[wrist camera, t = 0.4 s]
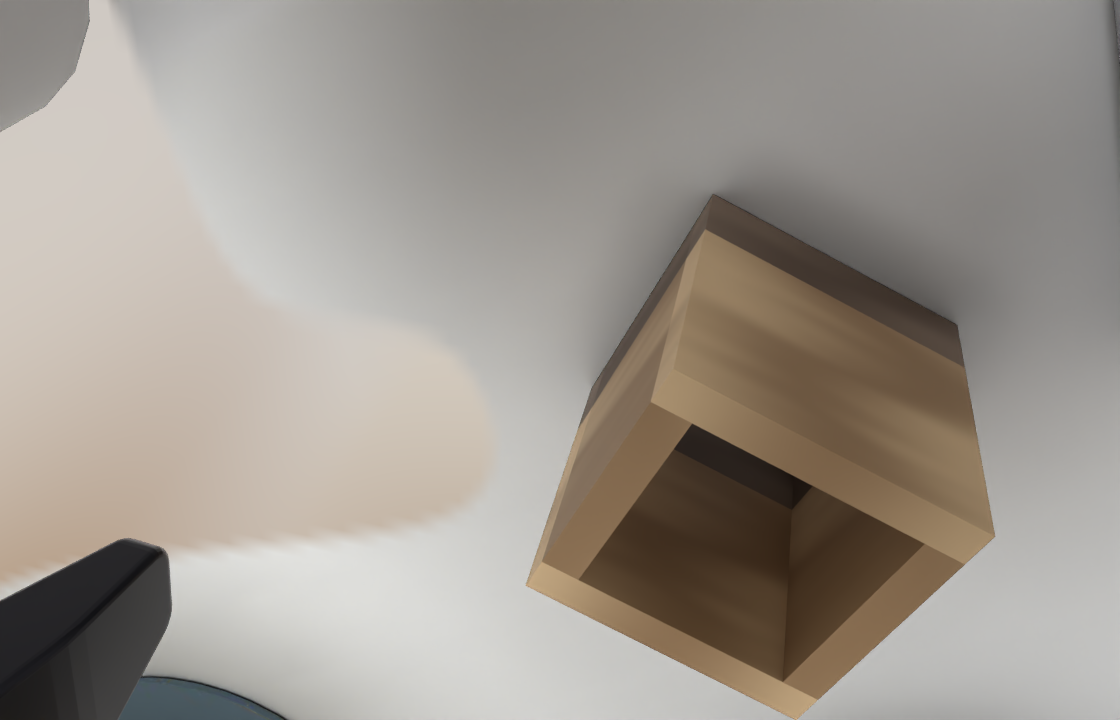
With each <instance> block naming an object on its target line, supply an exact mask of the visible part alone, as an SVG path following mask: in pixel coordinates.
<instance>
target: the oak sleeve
mask: <svg viewBox="0 0 1120 720" xmlns="http://www.w3.org/2000/svg"><path fill="white" fill-rule="evenodd" d="M994 537H995V533H994V528H993V522H992V516H991V511H990V505H989V500H988V494H987V489H986V483H985V478H984V472H983V466H982V461H981V455H980V450H979V444H978V439H977V433H976V427H975V422H974V416H973V411H972V405H971V400H970V394H969V388H968V383H967V377H966V372H965V366H964V361H963V355H962V349H961V344H960V338H959V333H958V327H957V325H956V324H954V323H952V322H950V321H949V320H947V319H945V318H943V317H941V316H939V315H937V314H936V313H934V312H932V311H930V310H928V309H926V308H924V307H923V306H921V305H919V304H917V303H915V302H913V301H911V300H909V299H908V298H906V297H904V296H902V295H900V294H898V293H896V292H895V291H893V290H891V289H889V288H887V287H885V286H883V285H882V284H880V283H878V282H876V281H874V280H872V279H870V278H869V277H867V276H865V275H863V274H861V273H859V272H857V271H855V270H854V269H852V268H850V267H848V266H846V265H844V264H842V263H841V262H839V261H837V260H835V259H833V258H831V257H829V256H828V255H826V254H824V253H822V252H820V251H818V250H816V249H814V248H813V247H811V246H809V245H807V244H805V243H803V242H801V241H800V240H798V239H796V238H794V237H792V236H790V235H788V234H787V233H785V232H783V231H781V230H779V229H777V228H775V227H774V226H772V225H770V224H768V223H766V222H764V221H762V220H760V219H759V218H757V217H755V216H753V215H751V214H749V213H747V212H746V211H744V210H742V209H740V208H738V207H736V206H734V205H733V204H731V203H729V202H727V201H725V200H723V199H721V198H720V197H718V196H716V195H714V194H713V195H712V197H711V199H710V200H709V202H708V203H707V205H706V207H705V208H704V210H703V211H702V213H701V215H700V216H699V218H698V219H697V221H696V223H695V224H694V226H693V227H692V229H691V231H690V232H689V234H688V235H687V237H686V239H685V240H684V242H683V243H682V245H681V247H680V248H679V250H678V251H677V253H676V255H675V256H674V258H673V259H672V261H671V263H670V264H669V266H668V267H667V269H666V271H665V272H664V274H663V275H662V277H661V279H660V280H659V282H658V283H657V285H656V287H655V288H654V290H653V291H652V293H651V295H650V296H649V298H648V299H647V301H646V303H645V304H644V306H643V307H642V309H641V311H640V312H639V314H638V315H637V317H636V318H635V320H634V322H633V323H632V325H631V326H630V328H629V330H628V331H627V333H626V334H625V336H624V338H623V339H622V341H621V342H620V344H619V346H618V347H617V349H616V350H615V352H614V354H613V355H612V357H611V358H610V360H609V362H608V363H607V365H606V366H605V368H604V370H603V371H602V373H601V374H600V376H599V378H598V379H597V381H596V382H595V384H594V386H593V387H592V389H591V392H590V395H589V398H588V401H587V404H586V407H585V410H584V413H583V416H582V419H581V422H580V425H579V428H578V430H577V433H576V436H575V439H574V442H573V445H572V448H571V451H570V454H569V457H568V460H567V463H566V466H565V469H564V472H563V475H562V478H561V481H560V484H559V487H558V490H557V493H556V496H555V499H554V502H553V505H552V508H551V511H550V514H549V517H548V520H547V523H546V526H545V529H544V532H543V535H542V538H541V541H540V544H539V547H538V550H537V553H536V556H535V559H534V562H533V565H532V568H531V571H530V574H529V577H528V580H527V583H526V586H528V587H530V588H532V589H534V590H536V591H538V592H540V593H542V594H544V595H546V596H548V597H550V598H552V599H554V600H556V601H558V602H560V603H562V604H564V605H566V606H568V607H570V608H572V609H574V610H576V611H578V612H580V613H582V614H584V615H586V616H588V617H590V618H592V619H594V620H596V621H598V622H600V623H602V624H604V625H606V626H608V627H610V628H612V629H614V630H616V631H618V632H620V633H622V634H624V635H626V636H628V637H630V638H632V639H634V640H636V641H638V642H640V643H642V644H644V645H646V646H648V647H650V648H652V649H654V650H656V651H658V652H660V653H662V654H664V655H666V656H668V657H670V658H672V659H674V660H676V661H678V662H680V663H682V664H684V665H686V666H688V667H690V668H692V669H694V670H696V671H698V672H700V673H702V674H704V675H706V676H708V677H710V678H712V679H714V680H716V681H718V682H720V683H722V684H724V685H726V686H728V687H730V688H732V689H734V690H736V691H739V692H741V693H743V694H745V695H747V696H749V697H751V698H753V699H755V700H757V701H759V702H761V703H763V704H765V705H767V706H769V707H771V708H773V709H775V710H777V711H779V712H781V713H783V714H785V715H787V716H789V717H791V718H793V719H795V720H797V719H798V718H799V717H800V716H801V715H802V714H803V713H804V712H805V711H806V710H808V709H809V708H810V707H811V706H812V705H813V704H814V703H815V702H816V701H817V700H818V699H819V698H821V697H822V696H823V695H824V694H825V693H826V692H827V691H828V690H829V689H830V688H831V687H832V686H834V685H835V684H836V683H837V682H838V681H839V680H840V679H841V678H842V677H843V676H844V675H845V674H847V673H848V672H849V671H850V670H851V669H852V668H853V667H854V666H855V665H856V664H857V663H859V662H860V661H861V660H862V659H863V658H864V657H865V656H866V655H867V654H868V653H869V652H870V651H872V650H873V649H874V648H875V647H876V646H877V645H878V644H879V643H880V642H881V641H882V640H883V639H885V638H886V637H887V636H888V635H889V634H890V633H891V632H892V631H893V630H894V629H895V628H896V627H898V626H899V625H900V624H901V623H902V622H903V621H904V620H905V619H906V618H907V617H908V616H909V615H911V614H912V613H913V612H914V611H915V610H916V609H917V608H918V607H919V606H920V605H921V604H922V603H924V602H925V601H926V600H927V599H928V598H929V597H930V596H931V595H932V594H933V593H934V592H936V591H937V590H938V589H939V588H940V587H941V586H942V585H943V584H944V583H945V582H946V581H947V580H949V579H950V578H951V577H952V576H953V575H954V574H955V573H956V572H957V571H958V570H959V569H960V568H962V567H963V566H964V565H965V564H966V563H967V562H968V561H969V560H970V559H971V558H972V557H973V556H975V555H976V554H977V553H978V552H979V551H980V550H981V549H982V548H983V547H984V546H985V545H986V544H988V543H989V542H990V541H991V540H992V539H993V538H994Z"/></svg>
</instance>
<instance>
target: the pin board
mask: <svg viewBox="0 0 1120 720" xmlns="http://www.w3.org/2000/svg"><path fill="white" fill-rule="evenodd" d="M1114 7H1115V18H1116V29H1117V40H1118V51H1119V62H1120V0H1114Z"/></svg>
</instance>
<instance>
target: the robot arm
mask: <svg viewBox="0 0 1120 720" xmlns="http://www.w3.org/2000/svg"><path fill="white" fill-rule="evenodd" d="M171 611H172V598H171V583H170V568H169V558H168V554H167V553H166V551H165V550H164V549H163V548H161V547H159V546H155V545H152V544H149V543H146V542H142V541H139V540H136V539H131V538H125V539H121V540H117V541H115V542H113V543H111V544H109V545H107V546H105V547H103V548H101V549H100V550H98V551H96V552H94V553H92V554H90V555H88V556H86V557H84V558H82V559H80V560H78V561H76V562H74V563H72V564H70V565H68V566H67V567H65V568H63V569H61V570H59V571H57V572H55V573H53V574H51V575H49V576H47V577H45V578H43V579H41V580H39V581H37V582H35V583H34V584H32V585H30V586H28V587H26V588H24V589H22V590H20V591H18V592H16V593H14V594H12V595H10V596H8V597H6V598H4V599H2V600H1V601H0V720H118V719H119V717H120V715H121V713H122V711H123V709H124V708H125V706H126V704H127V702H128V700H129V698H130V696H131V695H132V693H133V691H134V689H135V687H136V685H137V683H138V681H139V680H140V678H141V676H142V674H143V672H144V670H145V668H146V667H147V665H148V663H149V661H150V659H151V657H152V655H153V653H154V652H155V650H156V648H157V646H158V644H159V642H160V640H161V639H162V637H163V635H164V633H165V631H166V629H167V626H168V623H169V620H170V617H171Z"/></svg>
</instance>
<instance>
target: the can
mask: <svg viewBox="0 0 1120 720" xmlns="http://www.w3.org/2000/svg"><path fill="white" fill-rule="evenodd" d="M89 21H90V20H89V0H0V132H1V131H3V130H5V129H6V128H8V127H10V126H11V125H13V124H15V123H17V122H18V121H20V120H22V119H24V118H25V117H27V116H29V115H31V114H33V113H34V112H36V111H38V110H39V109H41V108H43V107H45V106H46V105H47V104H48V103H49V102H50V100H51V99H52V98H53V97H54V96H55V94H56V93H57V92H58V91H59V90H60V88H61V87H62V86H63V85H64V84H65V83H66V81H67V80H68V79H69V78H70V77H71V75H72V74H73V73H74V72H75V69H76V66H77V63H78V59H79V56H80V52H81V49H82V45H83V42H84V39H85V35H86V32H87V28H88V25H89Z"/></svg>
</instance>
